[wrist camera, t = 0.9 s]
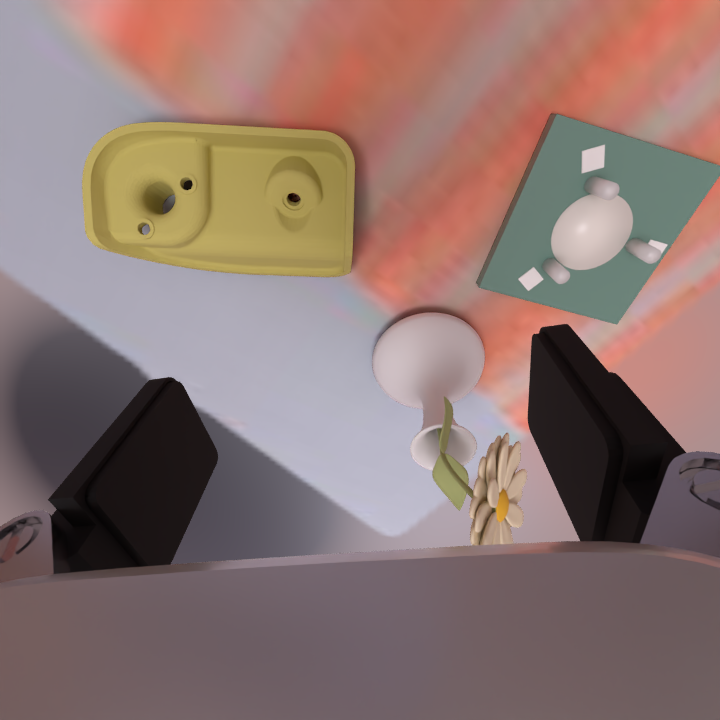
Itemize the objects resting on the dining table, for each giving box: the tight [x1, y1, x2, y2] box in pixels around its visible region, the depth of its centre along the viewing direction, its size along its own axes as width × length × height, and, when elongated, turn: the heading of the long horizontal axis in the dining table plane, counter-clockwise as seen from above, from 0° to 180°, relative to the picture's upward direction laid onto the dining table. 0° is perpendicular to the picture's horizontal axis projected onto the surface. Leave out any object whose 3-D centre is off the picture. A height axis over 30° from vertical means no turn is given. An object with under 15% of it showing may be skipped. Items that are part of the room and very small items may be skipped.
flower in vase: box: [372, 312, 527, 546], centre depth 31 cm, size 13×11×25 cm
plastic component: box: [82, 122, 355, 277], centre depth 33 cm, size 20×7×10 cm
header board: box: [476, 114, 720, 324], centre depth 33 cm, size 14×14×4 cm
